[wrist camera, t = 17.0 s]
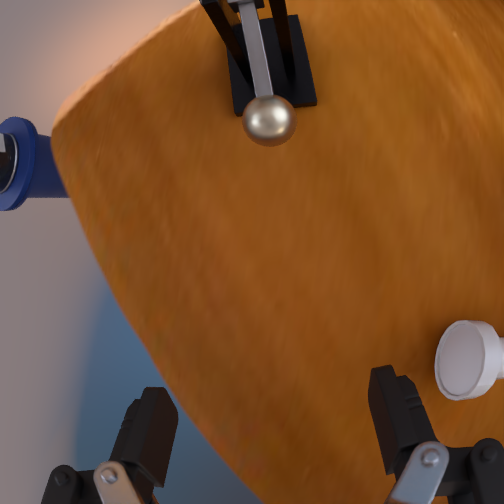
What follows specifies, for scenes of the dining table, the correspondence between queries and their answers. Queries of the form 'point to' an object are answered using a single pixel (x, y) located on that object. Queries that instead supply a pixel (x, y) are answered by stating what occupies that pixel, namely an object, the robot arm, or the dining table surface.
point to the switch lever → (262, 85)
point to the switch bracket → (277, 51)
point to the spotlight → (468, 359)
